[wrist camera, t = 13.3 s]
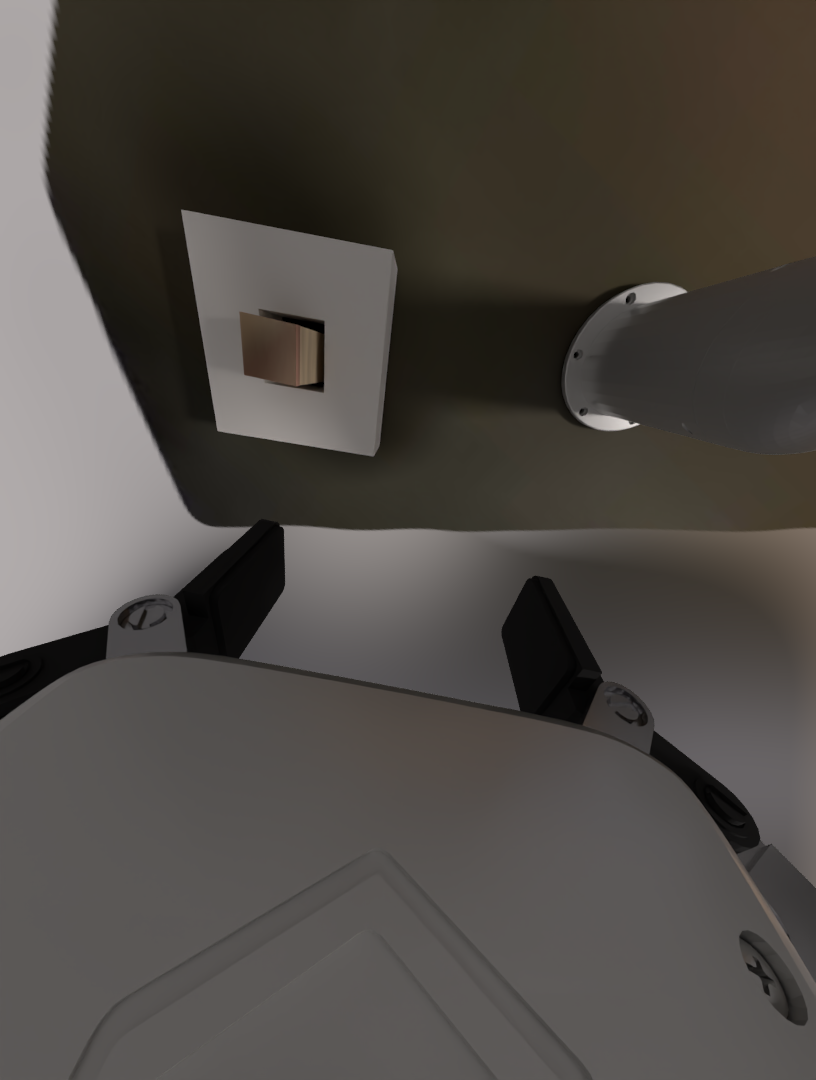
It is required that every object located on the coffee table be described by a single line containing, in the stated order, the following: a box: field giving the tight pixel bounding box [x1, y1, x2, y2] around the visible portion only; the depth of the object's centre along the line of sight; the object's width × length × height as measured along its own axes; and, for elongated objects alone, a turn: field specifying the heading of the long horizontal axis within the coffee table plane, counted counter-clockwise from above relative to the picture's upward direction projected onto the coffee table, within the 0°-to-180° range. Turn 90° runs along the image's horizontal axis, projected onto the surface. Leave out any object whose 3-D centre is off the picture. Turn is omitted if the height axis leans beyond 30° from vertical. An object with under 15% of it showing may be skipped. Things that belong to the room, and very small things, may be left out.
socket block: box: [181, 210, 397, 456], centre depth 29 cm, size 16×16×5 cm
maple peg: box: [239, 311, 325, 386], centre depth 27 cm, size 4×4×10 cm
